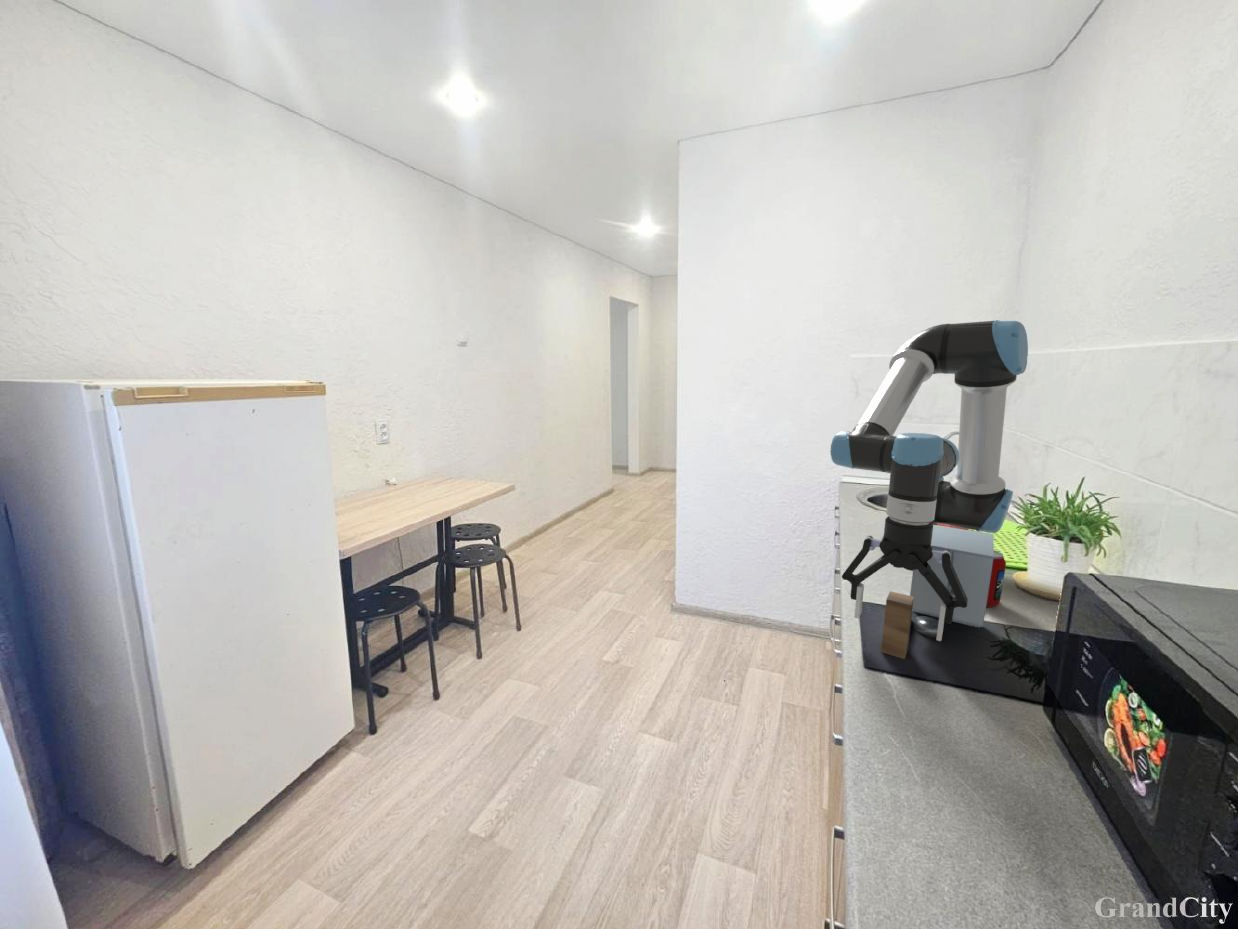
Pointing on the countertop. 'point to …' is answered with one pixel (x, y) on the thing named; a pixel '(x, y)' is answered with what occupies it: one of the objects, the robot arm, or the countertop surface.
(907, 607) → the upright wooden brick
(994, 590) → the beverage can
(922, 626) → the token
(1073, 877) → the countertop surface
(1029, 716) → the countertop surface
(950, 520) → the robot arm
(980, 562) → the cabinet
